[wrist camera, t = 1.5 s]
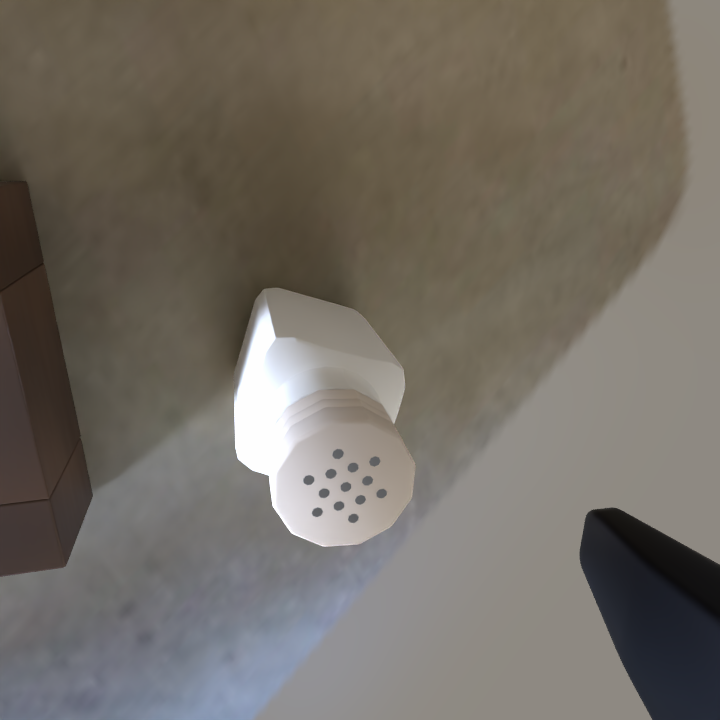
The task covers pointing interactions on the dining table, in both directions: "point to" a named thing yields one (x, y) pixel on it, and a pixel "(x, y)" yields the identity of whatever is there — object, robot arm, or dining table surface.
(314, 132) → the dining table surface
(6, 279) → the stand
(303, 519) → the salt shaker
